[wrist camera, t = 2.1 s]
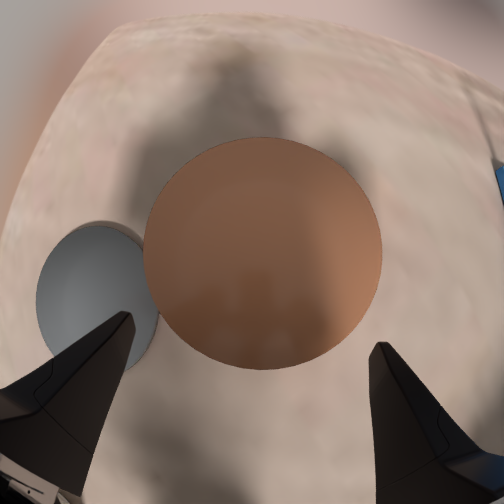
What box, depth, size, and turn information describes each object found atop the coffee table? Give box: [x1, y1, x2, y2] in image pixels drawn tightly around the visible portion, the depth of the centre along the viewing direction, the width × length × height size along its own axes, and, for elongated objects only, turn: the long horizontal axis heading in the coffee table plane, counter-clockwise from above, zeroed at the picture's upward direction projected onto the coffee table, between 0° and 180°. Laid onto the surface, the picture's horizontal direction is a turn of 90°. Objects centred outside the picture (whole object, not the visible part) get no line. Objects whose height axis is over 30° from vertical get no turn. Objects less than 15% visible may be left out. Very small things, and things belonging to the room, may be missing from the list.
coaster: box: [36, 226, 159, 371], centre depth 19 cm, size 12×12×1 cm
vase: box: [143, 137, 382, 370], centre depth 13 cm, size 6×6×13 cm
